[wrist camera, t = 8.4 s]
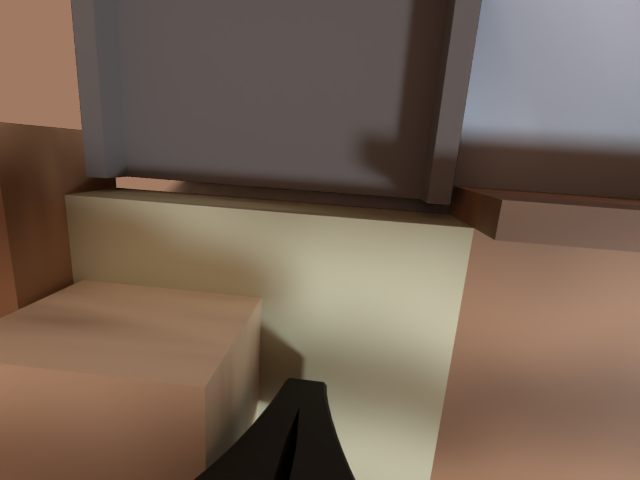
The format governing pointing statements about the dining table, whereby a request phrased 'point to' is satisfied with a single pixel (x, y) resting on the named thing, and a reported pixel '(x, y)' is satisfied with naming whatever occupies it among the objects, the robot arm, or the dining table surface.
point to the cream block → (126, 382)
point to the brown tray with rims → (377, 307)
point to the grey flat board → (277, 92)
